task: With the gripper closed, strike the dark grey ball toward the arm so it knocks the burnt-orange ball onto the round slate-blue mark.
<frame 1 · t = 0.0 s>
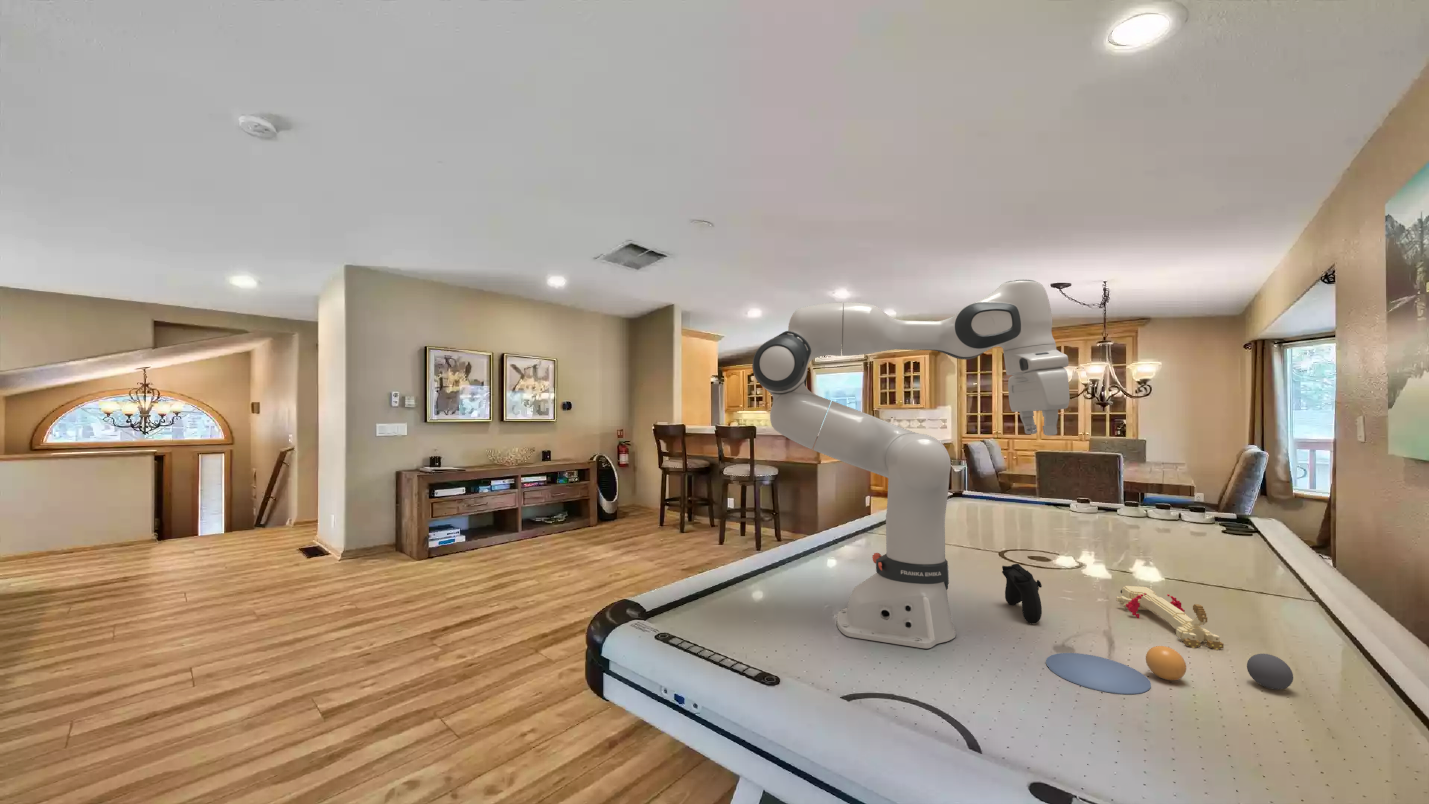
hand: (1040, 434, 102), 39 cm above the table, tool pointing down, fingers open, 8 cm apart
object ball: (1165, 662, 86), on the table
gaming controller: (1023, 615, 114), on the table
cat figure: (1163, 626, 109), on the table
dark grey ball: (1269, 671, 83), on the table
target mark: (1096, 672, 88), on the table
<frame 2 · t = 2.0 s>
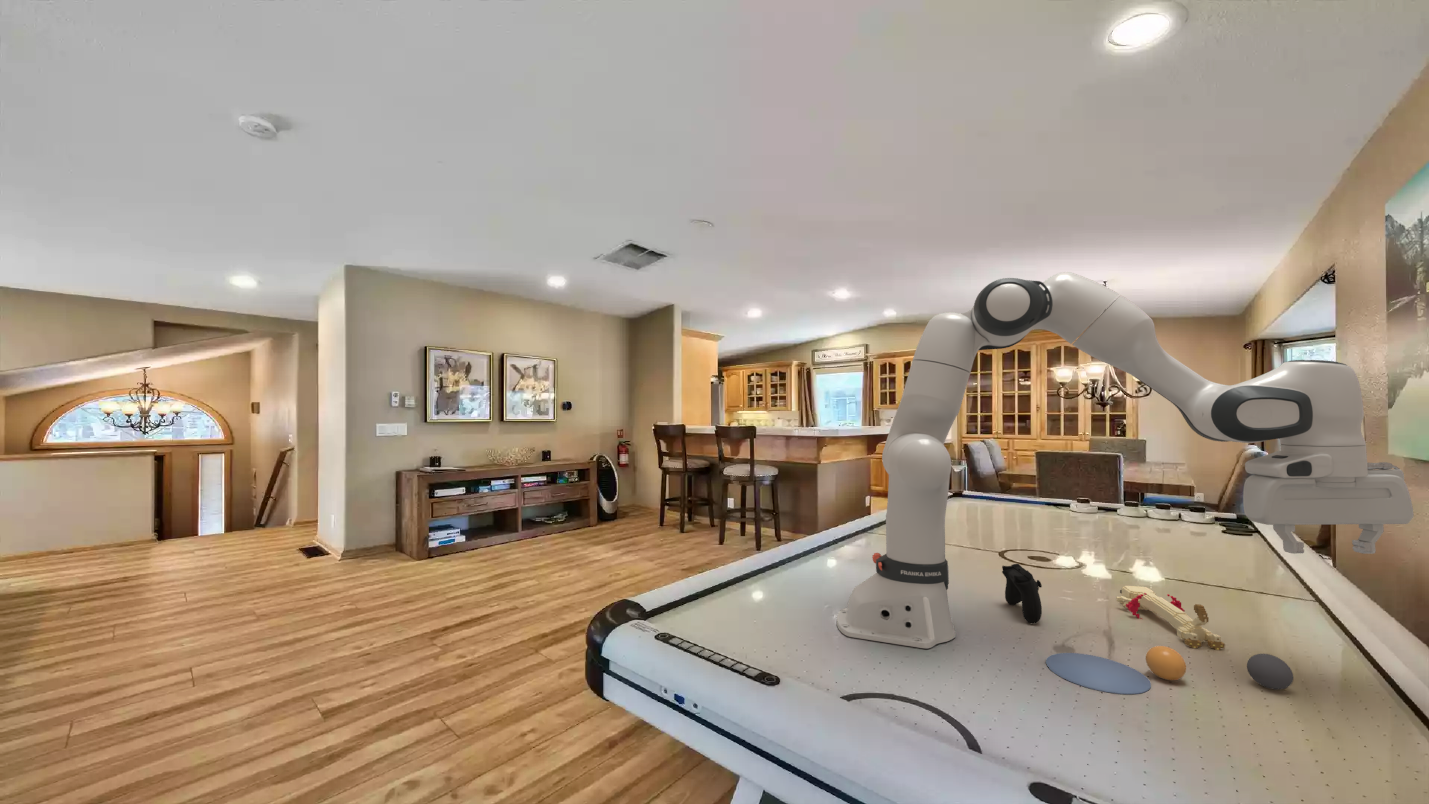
hand: (1328, 552, 82), 21 cm above the table, tool pointing down, fingers open, 8 cm apart
nothing on the table moved.
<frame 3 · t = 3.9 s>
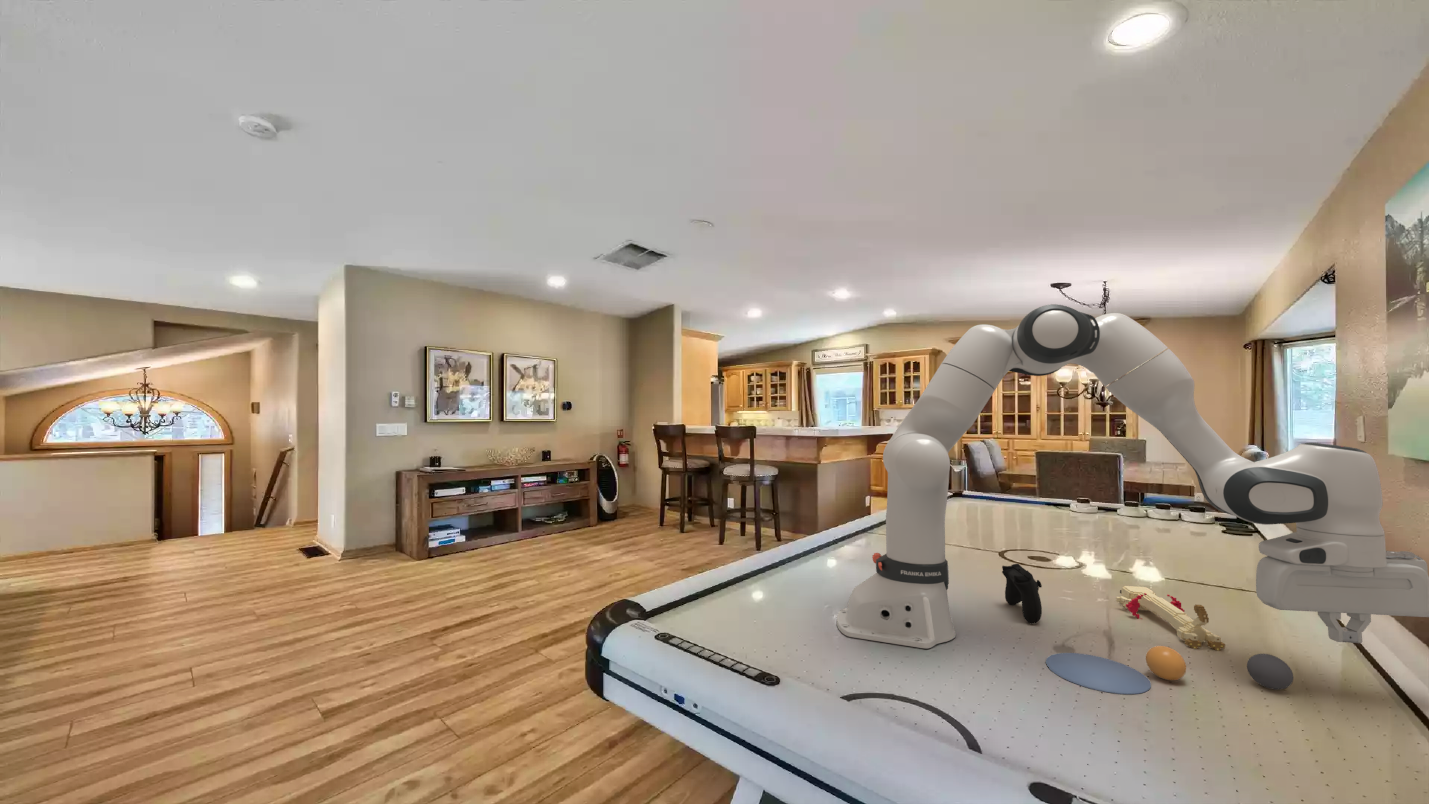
hand: (1345, 641, 81), 8 cm above the table, tool pointing down, fingers closed
nothing on the table moved.
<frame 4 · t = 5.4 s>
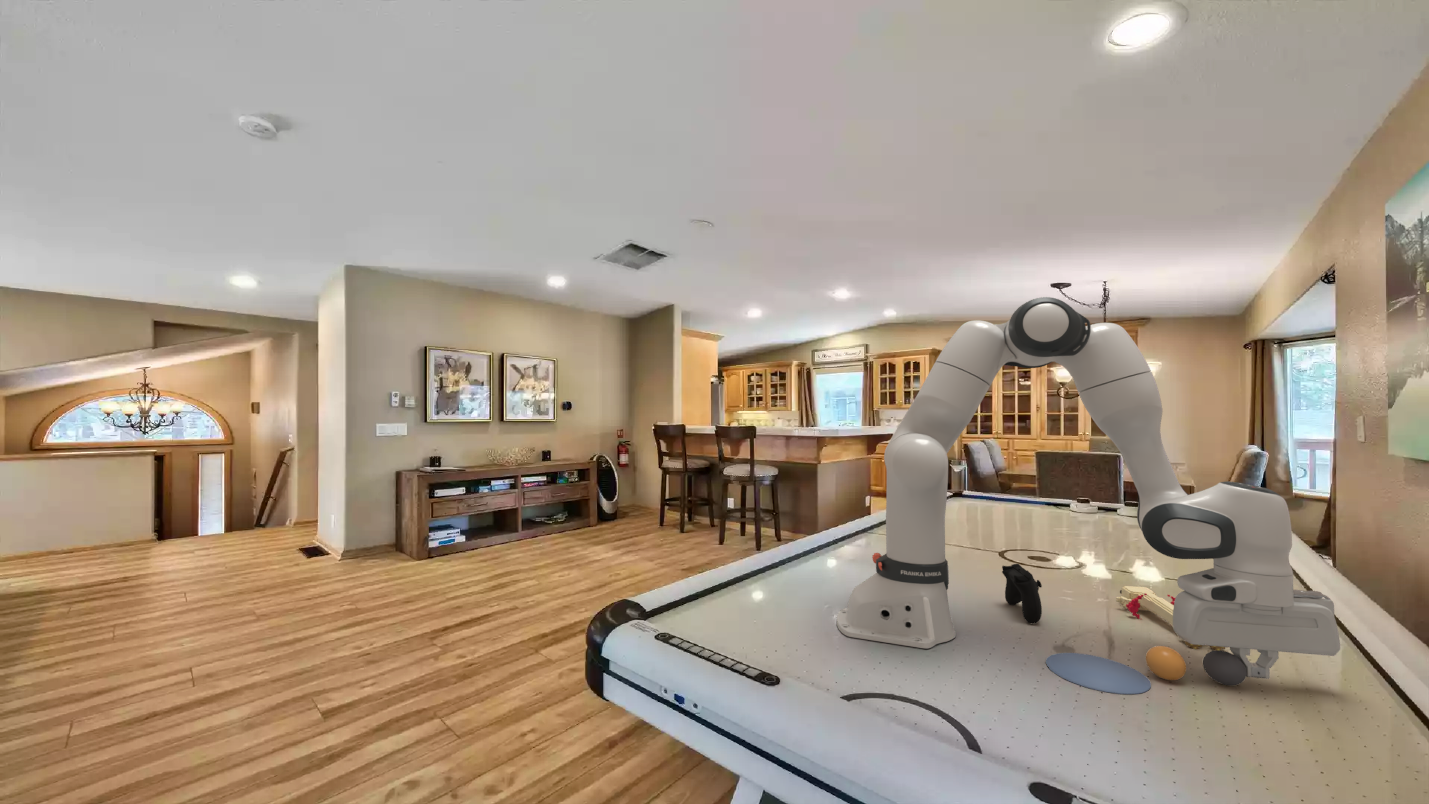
hand: (1254, 676, 83), 1 cm above the table, tool pointing down, fingers closed
dark grey ball: (1224, 667, 84), on the table
everything else where it was.
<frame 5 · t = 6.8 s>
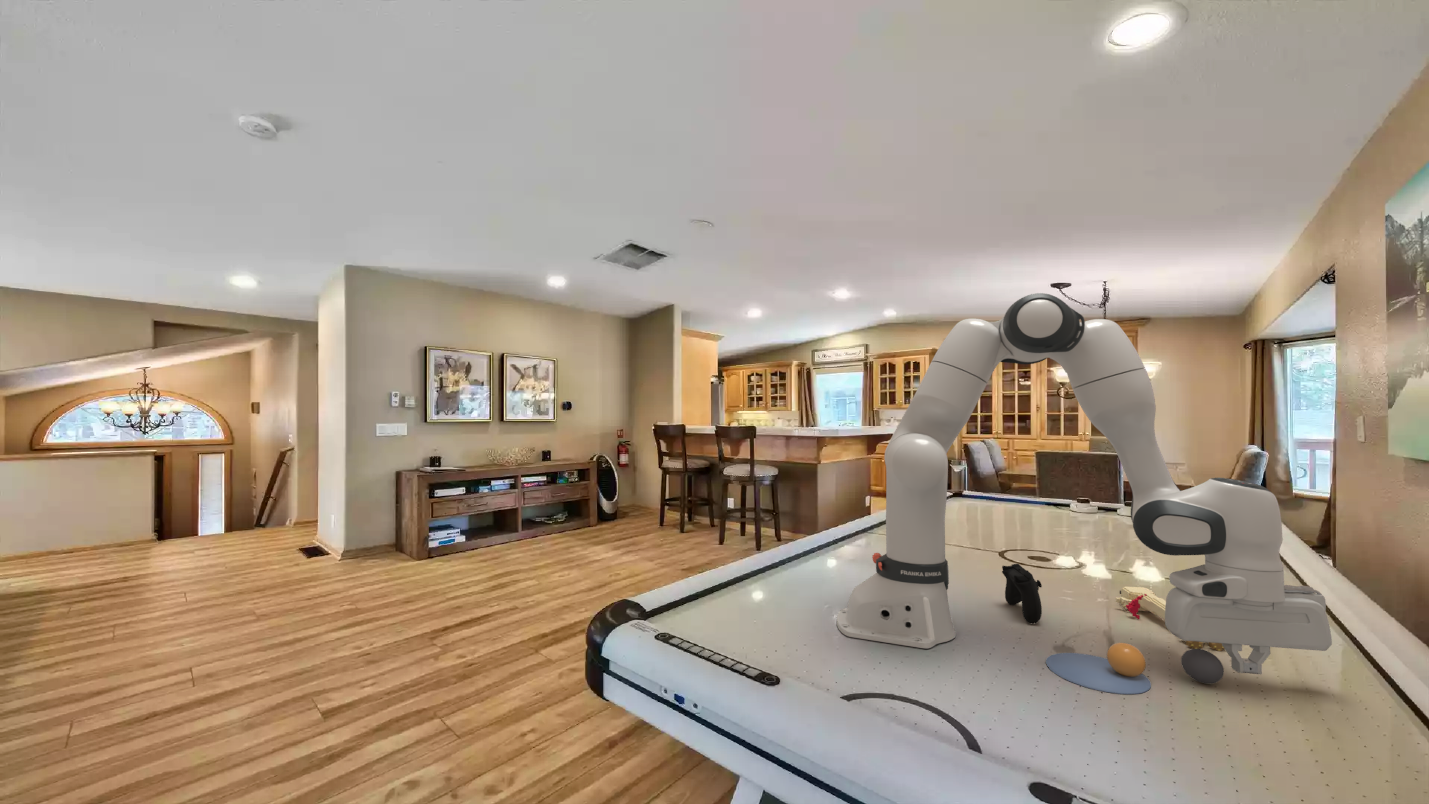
hand: (1246, 672, 83), 2 cm above the table, tool pointing down, fingers closed
object ball: (1126, 659, 87), on the table
dark grey ball: (1202, 665, 85), on the table
everything else where it was.
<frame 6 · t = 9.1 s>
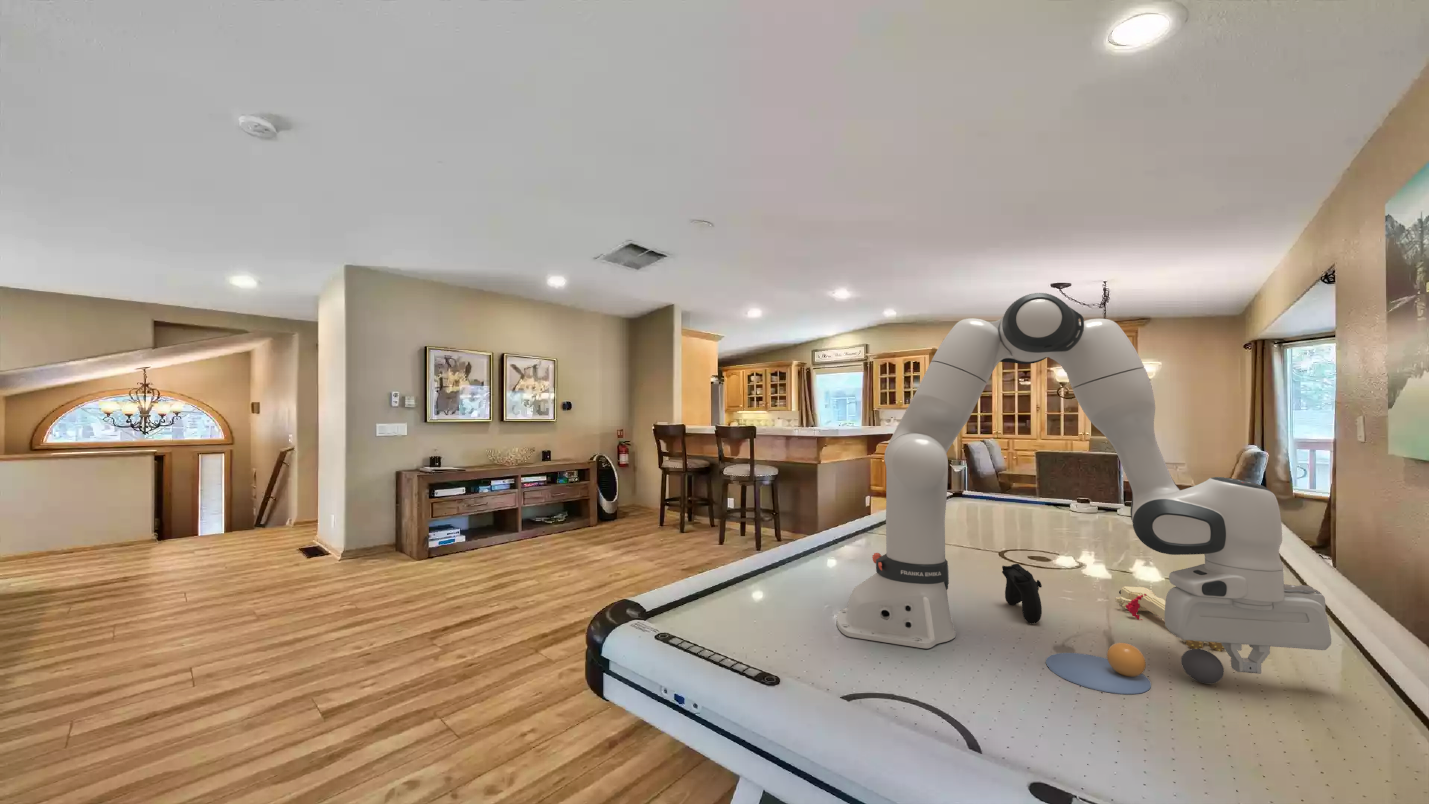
hand: (1246, 671, 83), 2 cm above the table, tool pointing down, fingers closed
nothing on the table moved.
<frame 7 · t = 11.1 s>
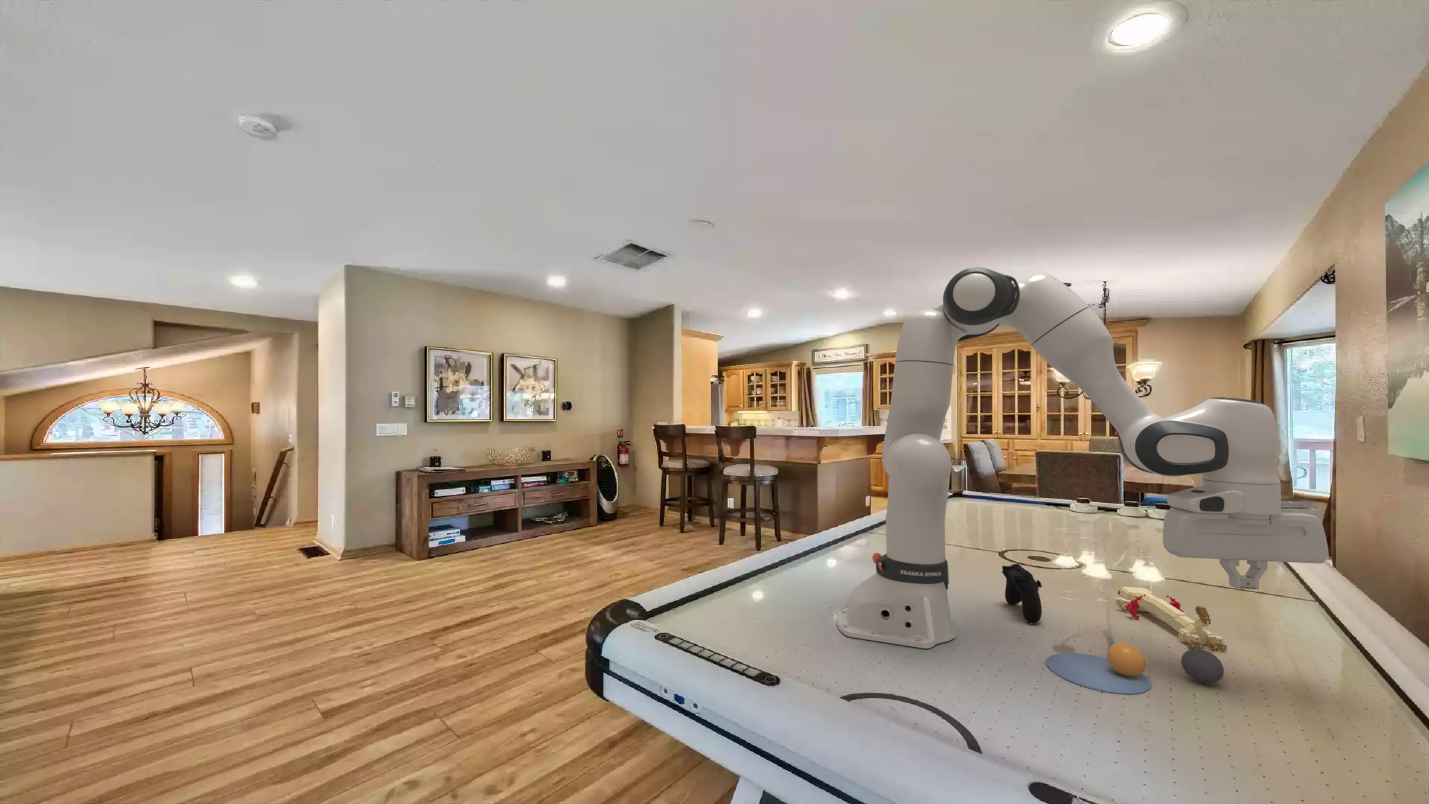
hand: (1244, 588, 84), 15 cm above the table, tool pointing down, fingers closed
at the end: object ball 4.4 cm from the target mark (horizontally); object ball never touched the robot; dark grey ball first touched object ball at 5.5 s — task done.
